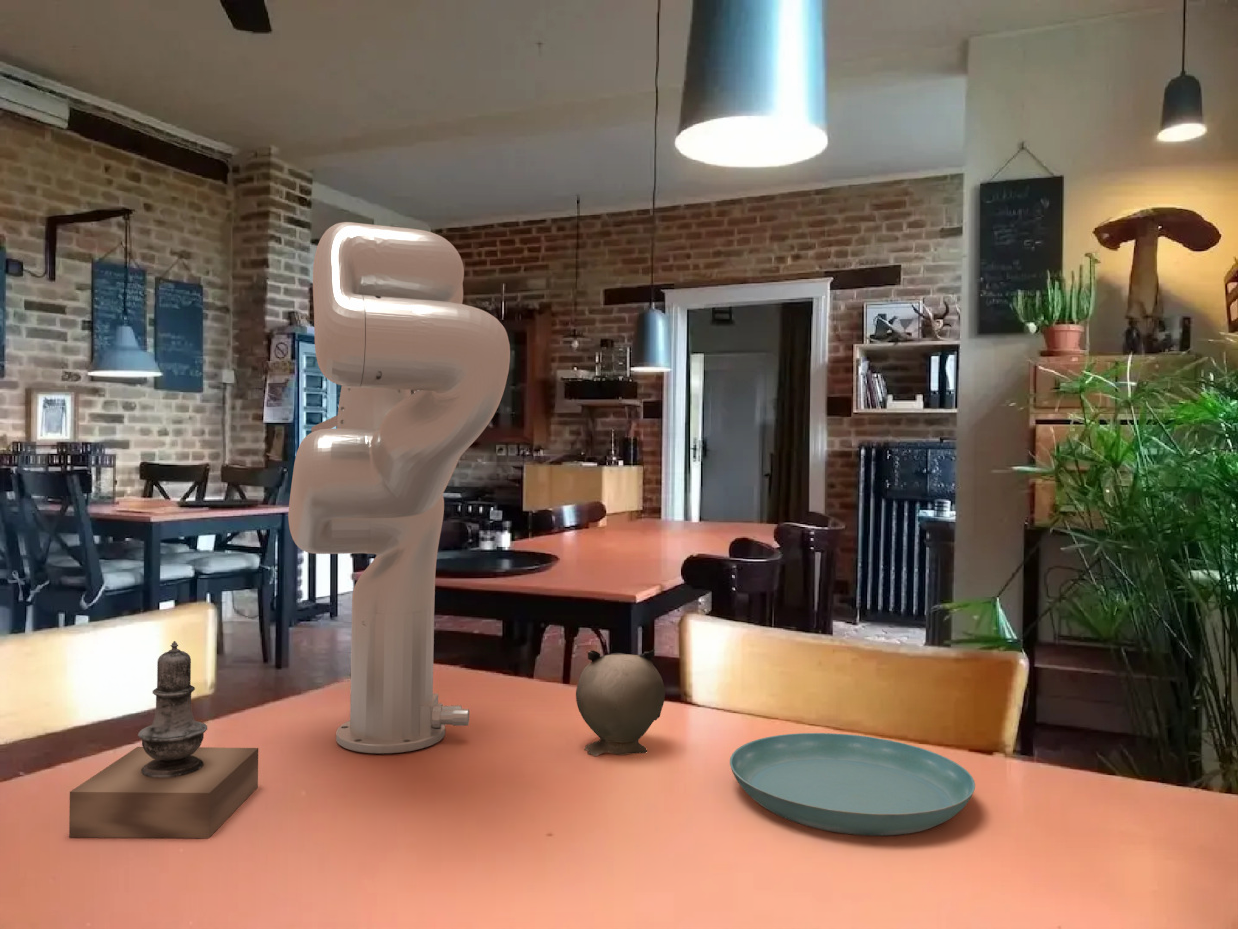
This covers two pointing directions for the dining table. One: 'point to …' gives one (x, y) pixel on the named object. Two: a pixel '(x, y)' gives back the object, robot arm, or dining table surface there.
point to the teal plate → (852, 782)
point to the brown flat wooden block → (163, 797)
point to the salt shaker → (173, 720)
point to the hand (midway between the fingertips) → (375, 489)
